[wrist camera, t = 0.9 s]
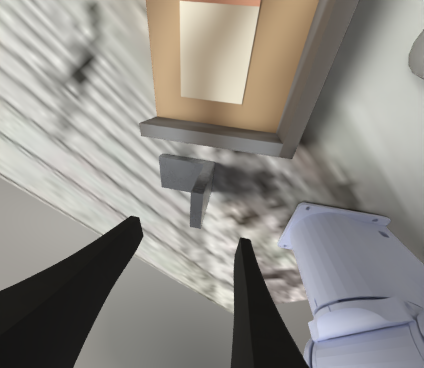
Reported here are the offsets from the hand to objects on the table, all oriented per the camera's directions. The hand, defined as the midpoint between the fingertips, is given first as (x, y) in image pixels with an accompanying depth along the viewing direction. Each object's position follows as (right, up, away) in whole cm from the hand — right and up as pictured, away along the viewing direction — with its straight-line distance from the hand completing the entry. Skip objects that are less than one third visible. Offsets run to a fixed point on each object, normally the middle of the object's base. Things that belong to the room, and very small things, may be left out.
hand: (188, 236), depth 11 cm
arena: (+3, +13, +1) cm, 14 cm away
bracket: (-1, +5, +7) cm, 9 cm away
